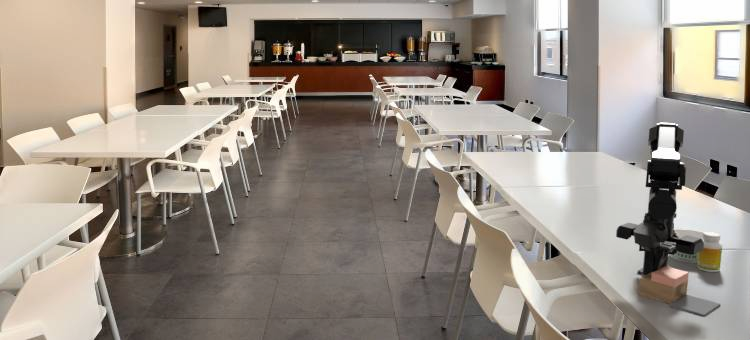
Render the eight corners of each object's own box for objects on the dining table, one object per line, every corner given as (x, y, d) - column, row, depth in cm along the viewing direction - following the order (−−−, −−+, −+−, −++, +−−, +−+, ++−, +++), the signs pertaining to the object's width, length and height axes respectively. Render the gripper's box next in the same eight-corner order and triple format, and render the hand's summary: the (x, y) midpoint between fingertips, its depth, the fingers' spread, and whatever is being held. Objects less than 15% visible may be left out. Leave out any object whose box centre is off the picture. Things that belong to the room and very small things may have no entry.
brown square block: (653, 286, 161) (654, 270, 160) (686, 295, 155) (688, 279, 154) (638, 294, 155) (639, 278, 155) (671, 304, 150) (673, 287, 149)
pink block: (664, 274, 158) (665, 266, 157) (687, 280, 153) (688, 272, 153) (651, 281, 153) (651, 272, 153) (674, 287, 149) (675, 279, 149)
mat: (686, 296, 154) (687, 294, 154) (720, 305, 149) (720, 303, 149) (669, 306, 148) (670, 304, 148) (704, 316, 143) (704, 314, 143)
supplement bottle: (720, 273, 169) (724, 237, 168) (698, 271, 171) (701, 235, 170) (718, 267, 174) (722, 232, 172) (696, 264, 176) (699, 230, 174)
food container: (666, 261, 179) (668, 238, 178) (662, 248, 190) (664, 227, 189) (714, 266, 175) (717, 243, 174) (707, 253, 186) (709, 231, 185)
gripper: (606, 207, 154) (602, 269, 157) (686, 223, 141) (679, 291, 144) (630, 200, 162) (625, 260, 165) (707, 214, 148) (701, 280, 151)
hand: (655, 272), depth 156 cm, fingers closed
